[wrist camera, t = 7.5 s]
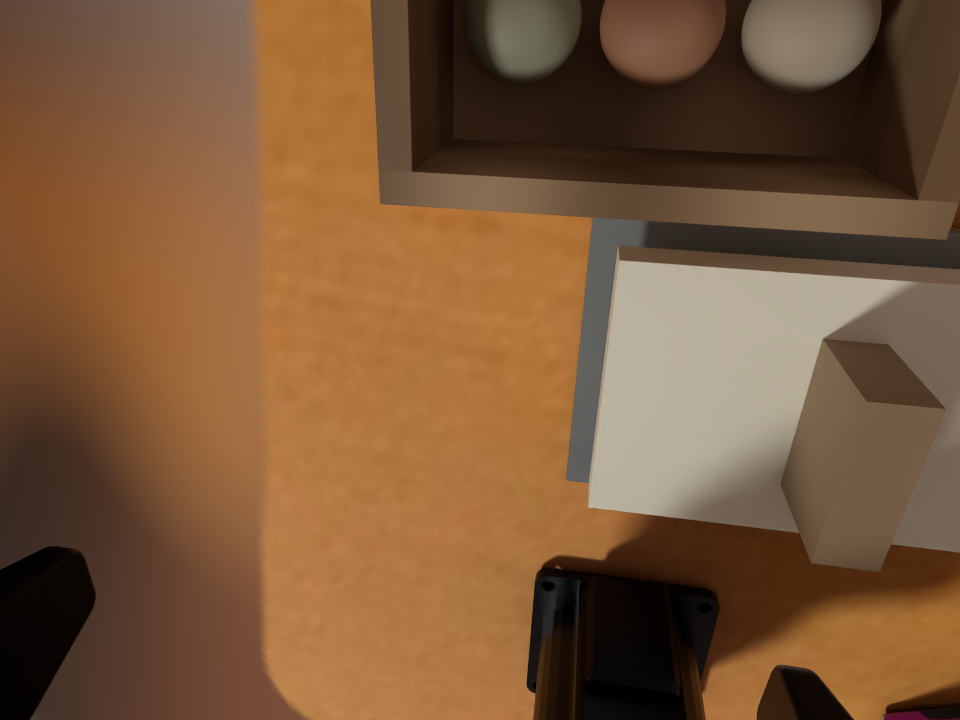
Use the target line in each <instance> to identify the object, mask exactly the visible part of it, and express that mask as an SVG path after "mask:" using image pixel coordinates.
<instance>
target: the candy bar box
mask: <svg viewBox="0 0 960 720" xmlns="http://www.w3.org/2000/svg"><path fill="white" fill-rule="evenodd" d="M882 719H883V720H960V706H959V707H948V708H938V709H926V710H916V711H904V712H893V713H887V714H883V715H882Z"/></svg>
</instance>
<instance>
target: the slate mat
mask: <svg viewBox="0 0 960 720" xmlns="http://www.w3.org/2000/svg"><path fill="white" fill-rule="evenodd" d="M618 246H632V247H646V248H660V249H674V250H689V251H703V252H717V253H732V254H746V255H760V256H774V257H789V258H803V259H817V260H832V261H846V262H860V263H875V264H889V265H903V266H917V267H932V268H946V269H960V228H950V231H949V233H948V236H947V239H946V240H941V239H925V238H909V237H894V236H878V235H862V234H846V233H830V232H815V231H799V230H783V229H767V228H751V227H736V226H720V225H704V224H688V223H672V222H657V221H641V220H625V219H609V218H593V220H592V229H591V239H590V249H589V259H588V269H587V279H586V288H585V298H584V308H583V318H582V328H581V338H580V348H579V357H578V367H577V377H576V387H575V397H574V407H573V416H572V426H571V436H570V446H569V456H568V466H567V477H566V480H567V481H576V482H585V483H589V477H590V469H591V461H592V453H593V445H594V437H595V428H596V420H597V412H598V404H599V396H600V388H601V380H602V372H603V364H604V356H605V347H606V339H607V331H608V323H609V315H610V307H611V299H612V291H613V283H614V275H615V267H616V258H617V250H618Z"/></svg>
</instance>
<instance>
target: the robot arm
mask: <svg viewBox="0 0 960 720" xmlns="http://www.w3.org/2000/svg"><path fill="white" fill-rule="evenodd" d="M545 581H550V582H553V583H547V582H545ZM95 601H96V589H95V586H94V583H93V580H92V577H91V573H90V570H89V567H88V564H87V561H86V558H85V555H84V554H83V553H82V552H81V551H80V550H78V549H73V548H67V547H61V546H49V547H46V548H43V549H41V550H39V551H37V552H35V553H33V554H31V555H29V556H27V557H25V558H23V559H21V560H19V561H17V562H15V563H13V564H11V565H9V566H7V567H4V568H2V569H0V720H30V719H31V717H32V716H33V714H34V712H35V710H36V709H37V707H38V706H39V704H40V703H41V700H42V699H43V697H44V695H45V694H46V692H47V690H48V688H49V687H50V685H51V683H52V681H53V680H54V678H55V676H56V674H57V673H58V671H59V669H60V667H61V665H62V664H63V662H64V660H65V658H66V657H67V655H68V653H69V651H70V650H71V647H72V646H73V644H74V643H75V641H76V639H77V637H78V635H79V633H80V632H81V630H82V628H83V627H84V625H85V623H86V621H87V620H88V618H89V616H90V614H91V612H92V610H93V608H94V605H95ZM701 603H707V604H701ZM718 614H719V602H718V597H717V595H716V594H715V593H714V592H713V591H711V590H708V589H702V588H695V587H688V586H680V585H673V584H665V583H658V582H650V581H643V580H635V579H628V578H621V577H613V576H606V575H598V574H591V573H583V572H576V571H568V570H561V569H554V568H544V569H541V570H539V571H538V572H537V574H536V578H535V588H534V600H533V613H532V625H531V637H530V649H529V661H528V674H527V688H528V689H529V690H530V691H531V692H533V693H536V695H535V705H534V716H533V720H706V718H705V712H704V705H703V698H702V692H701V685H700V681H701V678H702V674H703V670H704V666H705V663H706V659H707V655H708V651H709V648H710V644H711V640H712V636H713V632H714V629H715V625H716V621H717V617H718ZM757 720H854V719H853V718H852V717H851V716H850V714H849V713H848V712H847V711H846V709H845V708H844V707H843V706H842V704H841V703H840V702H839V701H838V700H837V698H836V697H835V696H834V695H833V693H832V692H831V691H830V690H829V688H828V687H827V686H826V685H825V684H824V682H823V681H822V680H821V679H820V677H819V676H818V675H817V674H815V673H814V672H813V671H811V670H809V669H805V668H799V667H793V666H787V665H777V666H776V667H775V668H774V669H773V671H772V672H771V675H770V678H769V680H768V683H767V685H766V688H765V691H764V693H763V696H762V698H761V701H760V704H759V707H758V711H757Z"/></svg>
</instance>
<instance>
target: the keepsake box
mask: <svg viewBox="0 0 960 720" xmlns="http://www.w3.org/2000/svg"><path fill="white" fill-rule="evenodd" d="M371 20H372V41H373V61H374V82H375V103H376V123H377V144H378V165H379V185H380V204H388V205H404V206H420V207H436V208H451V209H467V210H483V211H499V212H515V213H530V214H546V215H562V216H578V217H593V218H609V219H625V220H641V221H657V222H672V223H688V224H704V225H720V226H736V227H751V228H767V229H783V230H799V231H815V232H830V233H846V234H862V235H878V236H894V237H909V238H925V239H941V240H946V239H947V236H948V233H949V231H950V228H951V225H952V222H953V219H954V217H955V214H956V211H957V208H958V206H959V203H960V0H371Z"/></svg>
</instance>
